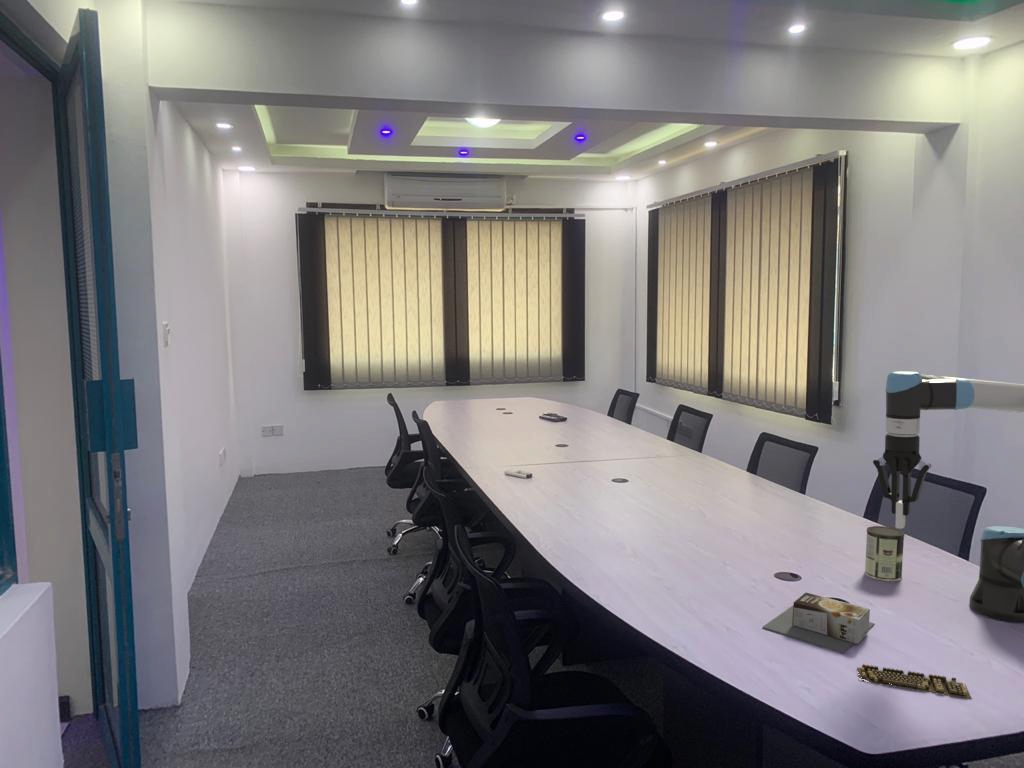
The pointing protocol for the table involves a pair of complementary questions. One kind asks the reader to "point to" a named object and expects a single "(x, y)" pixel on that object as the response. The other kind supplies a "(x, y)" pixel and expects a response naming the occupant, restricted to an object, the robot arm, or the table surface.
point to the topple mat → (807, 633)
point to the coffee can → (884, 553)
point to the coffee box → (831, 617)
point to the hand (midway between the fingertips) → (900, 526)
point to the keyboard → (913, 681)
